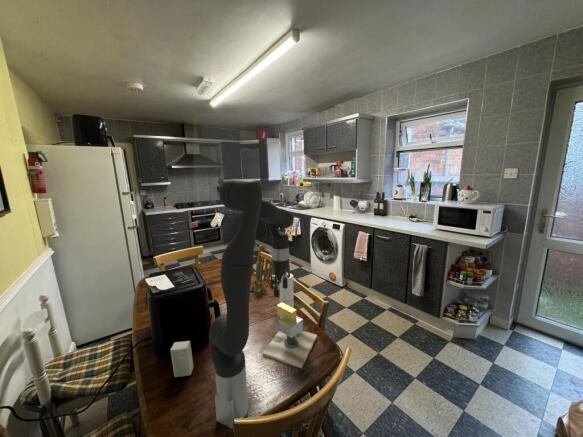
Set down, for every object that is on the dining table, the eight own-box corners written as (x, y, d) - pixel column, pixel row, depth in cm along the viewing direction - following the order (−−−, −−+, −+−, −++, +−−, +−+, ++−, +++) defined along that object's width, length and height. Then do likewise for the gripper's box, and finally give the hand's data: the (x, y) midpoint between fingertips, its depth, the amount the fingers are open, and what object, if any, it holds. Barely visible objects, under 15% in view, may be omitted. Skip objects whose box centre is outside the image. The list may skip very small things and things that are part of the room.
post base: (301, 368, 93) (301, 343, 91) (262, 355, 100) (261, 331, 98) (317, 337, 111) (317, 315, 109) (283, 327, 118) (282, 307, 116)
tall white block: (292, 324, 121) (291, 279, 117) (278, 322, 122) (277, 278, 118) (294, 316, 128) (294, 273, 123) (282, 315, 129) (281, 272, 125)
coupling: (302, 329, 105) (302, 308, 103) (291, 338, 99) (291, 316, 97) (285, 319, 112) (285, 300, 110) (273, 327, 106) (273, 307, 104)
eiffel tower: (249, 290, 158) (247, 255, 153) (264, 287, 162) (263, 252, 158) (253, 297, 148) (251, 260, 144) (269, 294, 152) (267, 257, 148)
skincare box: (193, 366, 95) (191, 340, 93) (190, 376, 90) (187, 348, 88) (177, 368, 94) (174, 341, 92) (173, 377, 90) (169, 349, 88)
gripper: (281, 264, 93) (281, 301, 95) (295, 253, 105) (295, 287, 108) (264, 261, 96) (265, 298, 98) (280, 251, 108) (280, 284, 111)
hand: (281, 292), depth 103 cm, fingers open, 8 cm apart
